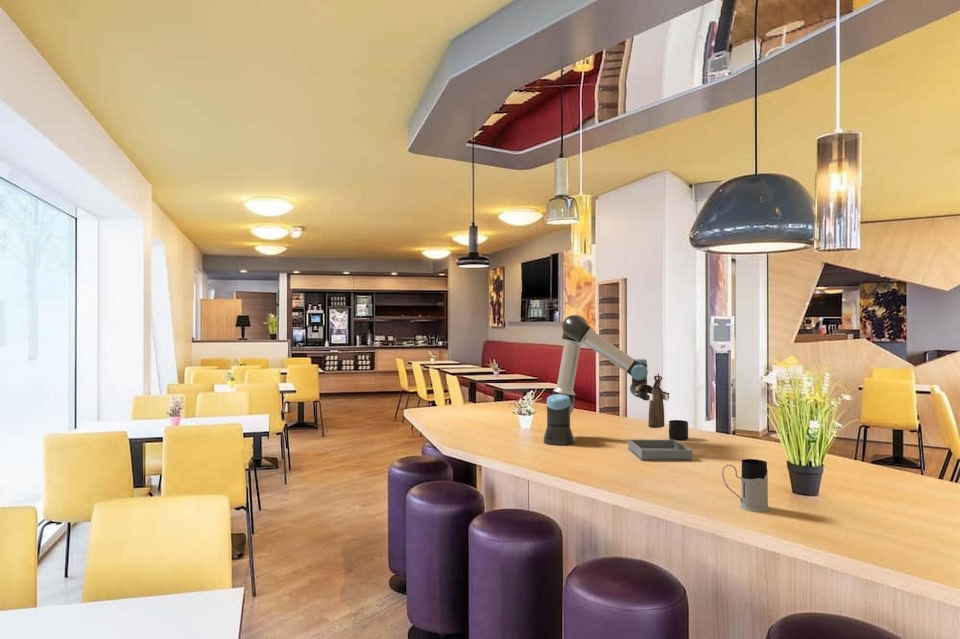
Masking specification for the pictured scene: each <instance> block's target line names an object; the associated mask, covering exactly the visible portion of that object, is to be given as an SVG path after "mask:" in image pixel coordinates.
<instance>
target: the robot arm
mask: <svg viewBox="0 0 960 639" xmlns="http://www.w3.org/2000/svg"><path fill="white" fill-rule="evenodd" d="M561 328H562V332H563V333H562V338H561V340H562V341H563V344H564V345H563V348H562V354H561V360H560V365H559V366H560V367H559V373H558V378H557V384H556V387H555V388H554V389H552V395H549V396H547V398H546V428H545V432H544V435H543V443H544V444H546V445H547V444H548V445H552V446H566V445H567V446H568V445H569V446H570V445H573V444H574V443H575V440H574V439H575V438H574V435H573V431H572V429H571V414H572V413H573V411H574V409H575V397H576V393H575V391H574V386H575V380H576V374H577V369H578V365H579V364H578V363H579V358H580V351H581V346H582V345H583V344H584V345H586V346H587V347H589V349H591V350H593V351H594V352H596V353H597V354H599V355H600V356H602V357H603V358H605V359H606V360H608V361H609V362H611V363H612V364H613V365H615V366H616V367H618V368H619V369H621V370H622V371H624V372H625V373H627V374H628V375H630V376H631V385H630V387H629V391H630V393H631V394H632V395H633V396H634V397H637V398H639V399H641V400H642V401H650V400H651V401H653V395H652V394H651V392H652V388H653V386H651V385H650V384H648V373H649V370H648V361H647V360H648V359H645V358H633V357H631V356H630V355H629V354H627V353H626V352H624V351H623V350H622V349H620V348H618V347H617V346H615V345H614V344H612V343H611V342H610V341H608V340H606V339H605V338H604V337H602V336H601V335H599V333H596V332H595V331H594V330H593V328H592V327H591V326H590V325H588V323H587V320H586V319H585V318H584V317H583V316H581V315H577V314H571V315H569V316H567V317H565V319H564V320H563V321H562V326H561ZM662 397H663V401H666V402H668V401H669V399H670V393H669V392H667V391H663V390H662Z"/></svg>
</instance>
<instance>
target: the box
mask: <svg viewBox="0 0 960 639" xmlns="http://www.w3.org/2000/svg"><path fill="white" fill-rule="evenodd" d="M627 441H628V444H627V445H628V450H629V451H630V452H631V453H632V454H633V455H635V457H636V458H638V459H639V460H640V461H641V462H642V461H643V462H646V461H647V462H649V461H650V462H653V461H654V462H660V461H663V462H665V461H666V462H676V461H677V462H679V461H681V462H683V461H684V462H685V461H686V462H687V461H688V462H689V461H693V449H691V448H690V447H688V446H686V445H684V444H682V443H680V442H679V440H672V439H628V440H627Z"/></svg>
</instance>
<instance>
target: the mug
mask: <svg viewBox="0 0 960 639" xmlns="http://www.w3.org/2000/svg"><path fill="white" fill-rule="evenodd" d="M688 439H689V421H687V420H682V419H680V420H679V419H673V420H668V440H676V441H678V442H679V441H680V442H681V441H688Z"/></svg>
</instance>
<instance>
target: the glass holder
mask: <svg viewBox="0 0 960 639" xmlns="http://www.w3.org/2000/svg"><path fill="white" fill-rule="evenodd" d="M726 467H733V469H734V471H735V473H734V474H735V477H736V478H737V479H740V486H741V487H740V490H741V492H740V493H741V494H740V495H738V494H737V493H736V492H734V491H733V490H732V489H731V488H730V487H729V486H728V484H727V482H726V479H725V475H724V473H725V472H724V470H725V469H726ZM768 474H769V473H768V462H767V461H765V460H762V459H756V458H755V459H754V458H744V459H742V460H741V475H740V476H738V471H737V468H736V466H734V465H733V464H725V465H724V466H723V467H722V472H721V475H722V480H723V483H724V485H725V486H726V488H727V489H728V490H729V491H730V492H731V493H732V494H734V495H735V496H736V497H738V499H739V500H740V504H739V508H740V509H742V510H744V511H747V512H751V513H767V512H769V511H770V508H769V499H768V498H769V495H768V493H769V491H768V490H769V488H768V485H769V484H768V478H769V477H768V476H769V475H768ZM740 496H741V497H740Z"/></svg>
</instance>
